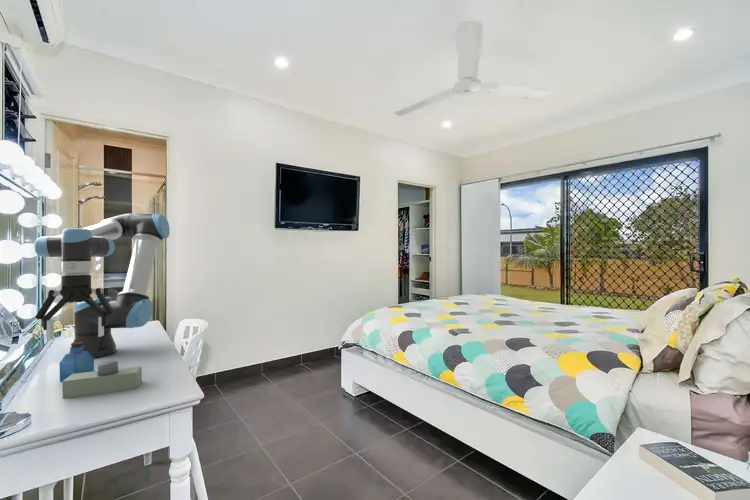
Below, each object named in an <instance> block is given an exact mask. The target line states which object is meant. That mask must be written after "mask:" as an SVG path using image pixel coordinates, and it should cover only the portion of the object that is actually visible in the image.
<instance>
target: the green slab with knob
mask: <svg viewBox="0 0 750 500" xmlns="http://www.w3.org/2000/svg"><path fill="white" fill-rule="evenodd" d="M142 370H143V367H142V365H141V366H140V365H139V366H132V367H122V368H119V360H108V361H103V362H100V363H98V364H97V370H94V371H93V372H84V373H75V374H72V375H70V376H69V377H67V378H66V379H65V380H63V381H62V385H61V387H62V388H61V389H62V392H61V393H62V397H61V398H62V399H69V398H76V397H82V396H83V397H85V396H91V395H99V394H108V393H114V392H121V391H123V392H124V391H129V390H137V388H138V387H139V386H140V384H141V383H142V381H143V380H142V379H143V378H142V377H143V376H142V375H143V373H142V372H143V371H142Z"/></svg>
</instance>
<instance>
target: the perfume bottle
mask: <svg viewBox="0 0 750 500" xmlns="http://www.w3.org/2000/svg"><path fill="white" fill-rule="evenodd" d="M69 348H70V349H69V352H70V351H71V353H67V354H65V355H64V356H63V357H62V359H61V360H60V362H59V382H60V383H61V382H62V381H63V380H65V379H66V378H67V377H69V376H70V375H72V374H75V373H84V372H93V371H95V358H93V356H92V355H91V354H90V353H89V352H88V351H83V349H84V345H83V342H75V343H73V342H71V343H70V347H69Z"/></svg>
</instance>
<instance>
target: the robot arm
mask: <svg viewBox="0 0 750 500" xmlns="http://www.w3.org/2000/svg"><path fill="white" fill-rule="evenodd" d="M170 234H171V232H170V224H169V221H168V219H167V217H166V216H165V215H164V214H161V213H160V214H159V213H124V214H120V215H115V216H112V217H109V218H105V219H102V220H101V221H100V222H99V223H97V224H93V225H89V226H86V227H83V228H80V227H79V228H75V227H73V228H72V227H68V228H64V229H62V232H61V234H58V235H53V236H52V235H47V236H45V235H43V236H39V237H37V238H36V240H35V241H34V245H33V248H34V252H35V253H36V255H38V256H39V257H42V258H43V257H44V258H51V259H52V258H61V274H63V275H62V276H61V280H60V281H61V284H60V285H61V288H60V289H55V288H54V289H49V290H48V293H47V298H45V301H44V302H43V304H42V305H41V307H40V308H39V310H38V311H37V313H36V315H35V319H36V320H42V322H43V323H42V328H43V331H46V342H47V341H52V340H54V339H55V319H54V318H53V316H54V315H56V314H57V313H58V312H60V310H61V309H62V308H63V307H64V306H65V305H66V304H67V303H69V304H71V303H75V305H74V313H73V315H74V340H73V342H72V343H75V342H83V345H84V349H83V351H88V352H89V353H90V354H91V355H92V356H93V358H94V359H96V358H100V357H106V356H109V355H112V354H114V353H116V352H117V345H116V342H115V340H114V337H113V335H112V329H133V328H141V327H144V326H145V325H146V324H147V323H148V322H149V321H150V320H151V318H152V316H153V315H152V314H153V311H154V308H153V304H154V303H153V302H152V301H151V299H150V296H149V295H148V294H147V291H148V287H149V284H150V279H151V274H152V270H153V265H154V261H155V257H156V253H157V249H158V246H160V245H162V242H163V239H164V240H165V239H168V238H169V236H170ZM117 239H132V241H134V242H135V243H134V245H133V249H132V253H131V257H130V261H129V266H128V269H127V273H126V275H125V276H126V277H125V281H124V284H123V288H122V291H120V292H119V293H117V295H116V298H115V299H113V300H112V298H111V296H105V294H104V289H103V287H97V288H92V275H91V273H92V258H95V257H96V258H104V257H108V256H110V255H112V254H113V253H114V251H115V248H116V245H115V242H114V241H113V240H117ZM92 294H94V295H95V296H96V297H97V298H93V297H92V296H91V295H92ZM59 295H61V297H62V298H61V299H60V300H59V301H58V302H57V303H56V304H55V305H54V307H52V308H51V309H50V307H51V306H52V304H53V303H54V301H55V299H56V297H58V296H59ZM49 309H50V310H49ZM52 318H53V319H52ZM69 353H71V351H70V350H69ZM69 353H68V354H69Z"/></svg>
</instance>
